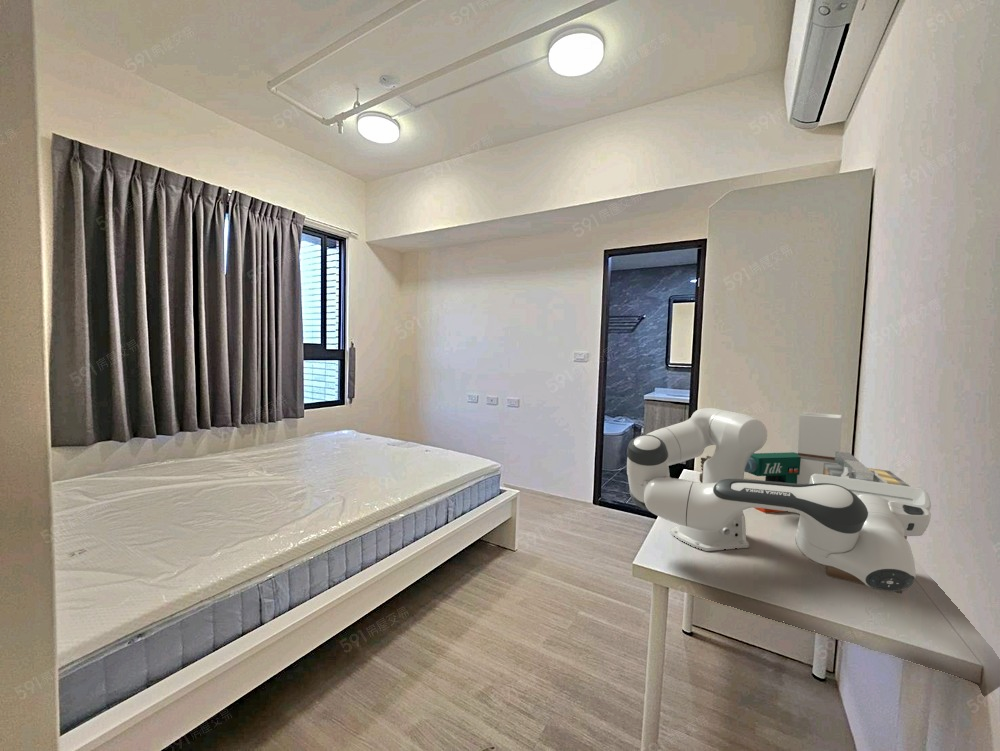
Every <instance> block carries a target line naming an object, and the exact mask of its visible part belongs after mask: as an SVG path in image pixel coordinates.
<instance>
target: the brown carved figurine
mask: <svg viewBox="0 0 1000 751" xmlns="http://www.w3.org/2000/svg"><path fill="white" fill-rule="evenodd" d="M711 457H712V455H711V456H709V455H706V457H700V460H701V461H700V468H701V471H702V472H701V473H699V483H702V482H703V465H704V462H705V461H706V460H707V459H709V458H711Z"/></svg>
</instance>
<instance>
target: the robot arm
mask: <svg viewBox="0 0 1000 751" xmlns="http://www.w3.org/2000/svg"><path fill="white" fill-rule="evenodd" d="M767 440H768V430H767V427H766V425H765V424H764V423H763V422H762V421H761V420H759V419H757V418H755V417H753V416H752V415H750V414H749V415H748V414H746V413H741V412H736V411H730V410H727V409H720V408H716V407H705V408H699V409H697V410H695V411H693V413H692V415H691V417H689V418H688V419H686V420H684V421H681V422H679V423H675V424H671V425H669V426H665V427H661V428H658V429H656V430H653V431H651V432H648V433H646V434H641V435H637V436H635V437H634V438H632V439H631V440H630V441H629V442H628V445H627V449H626V456H627V458H626V474H627V480H628V486H629V489H628V490H629V491H628V492H629V495H630V499H631V501H632V502H633V503H634V505H635V506H637V507H639V508H640V509H642V510H645V511H649V512H650V513H652V514H653V515H655V516H657V517H659V518H661V519H664V520H666V521H669V522H672V523H673V524H678V525H675V526H674V527H672V528H671V527H670V530H669V533H670V532H671V533H670V534H671V535H672V536H673V537H674V536H675V537H674V538H676V539H677V538H678V539H677V540H679V541H681V542H682V541H683V543H684V542H685V544H686V543H687V544H686V545H688V544H689V545H688V546H690V545H691V546H690V547H693V548H695V547H696V549H698V548H699V550H701V549H702V550H701V551H705V552H713V551H722V550H724V549H726V550H735V548H737V549H747V548H749V547H750V544H749V541H747V528H746V526H747V524H746V517H745V515H744V510H747V509H755V508H764V509H772V510H780V511H788V512H790V513H795V514H799V518H798V522H797V527H796V534H795V544H796V547H797V548H798V550H799V551H800V552H801V553H802V555H804V556H805V557H806V558H807V559H808V560H811V561H812V562H814V563H816V564H818V565H821V566H823V567H824V566H830V567H835V568H838V569H841V570H843V571H845V572H848V573H850V574H852V575H854V576H855V577H857V578H858V579H860V580H861V581H862V582H863V583H865V584H866V585H865V586H867V587H869V588H872V589H873V590H876V591H880V592H886V593H887V592H889V593H890V592H894V591H900V590H902V591H903V590H906V589H907V588H909V587H910V586H912V585H913V583H914V582H915V580H916V577H917V571H916V564H915V559H914V555H913V552H912V549H911V546H910V543H909V541H908V540H906V539H905V537H904V536H907V537H921V536H923V535H924V534H925V533H926V531H927V529H928V527H929V525H930V521H931V517H932V514H931V512H930V511H931V508H932V504H931V499H930V495H929V492H928V491H926V490H925V489H923V488H920V487H915V486H911V485H909V486H902V485H895V484H888V483H887V481H886V480H884V479H883V478H881V477H880V476H878V473H877V471H872V470H870V471H871V472H872V473H873V481H874V482H873V481H866V480H859V479H852V476H853V473H854V472H853V468H849V467H844V471H843V474H842V475H841V477H837V476H830V475H823V474H813V475H811V477H810V481H809V484H795V483H783V482H772V481H765V480H759V479H749V478H748V479H747V478H746V479H745V472H744V471H745V467H746V464H747V462H748V460H749V458H750V457H751V455H752V454H753V453H757V451H759V450H761V449H762V448H763V447H764V446H765V444H766V442H767ZM710 446H715V450H714V452H713V455H711V458H709V459H707V460H706V461H705V462H704V465H703V471H702V472H703V482H702V483H701V482H700V481H694V480H693V481H692V480H687V479H682V478H675V477H671V476H670V475H671V474H670V468H669V466H672V465H676V464H680V463H683V462H687V461H689V460H692V459H696V458H698V457H701V456H702V455H703V454H704V452H705V448H707V447H710ZM849 477H850V478H849ZM910 486H911V487H910Z"/></svg>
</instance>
